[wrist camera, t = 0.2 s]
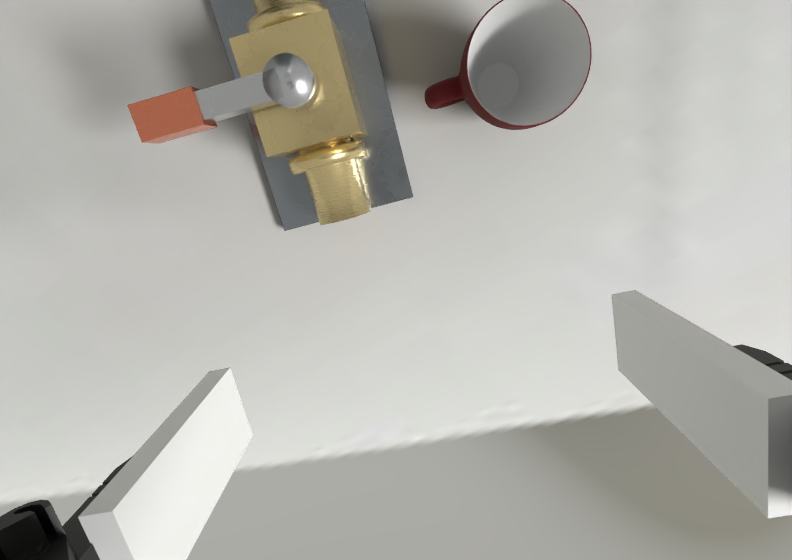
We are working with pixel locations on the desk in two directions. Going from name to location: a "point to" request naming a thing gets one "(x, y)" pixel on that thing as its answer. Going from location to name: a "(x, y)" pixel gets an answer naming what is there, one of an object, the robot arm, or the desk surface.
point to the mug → (520, 64)
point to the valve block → (319, 108)
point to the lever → (226, 100)
